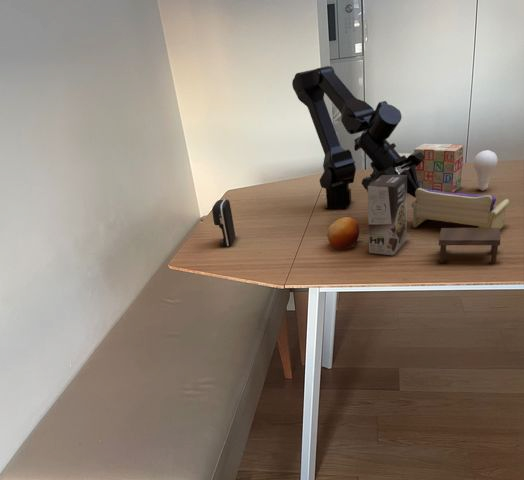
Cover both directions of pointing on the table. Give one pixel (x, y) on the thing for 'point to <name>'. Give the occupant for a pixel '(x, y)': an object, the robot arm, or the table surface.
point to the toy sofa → (458, 208)
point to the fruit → (343, 233)
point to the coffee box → (387, 214)
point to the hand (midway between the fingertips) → (419, 197)
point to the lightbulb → (485, 167)
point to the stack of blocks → (439, 167)
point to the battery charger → (224, 221)
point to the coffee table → (469, 239)
